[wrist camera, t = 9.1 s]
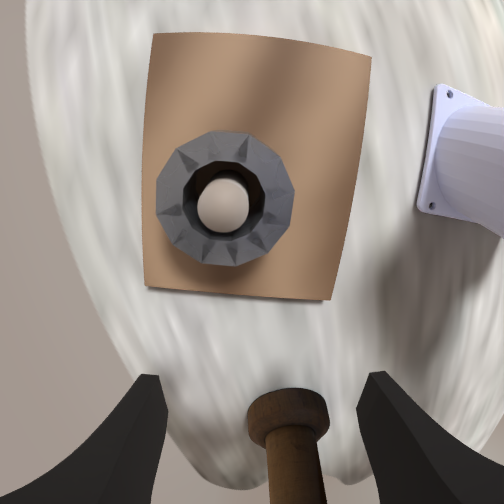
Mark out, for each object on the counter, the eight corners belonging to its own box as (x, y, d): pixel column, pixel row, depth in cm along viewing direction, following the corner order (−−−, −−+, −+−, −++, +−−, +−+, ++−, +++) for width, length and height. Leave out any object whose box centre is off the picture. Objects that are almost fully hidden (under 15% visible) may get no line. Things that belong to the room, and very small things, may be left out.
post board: (364, 59, 13) (403, 43, 9) (326, 292, 19) (346, 338, 15) (158, 38, 13) (129, 12, 9) (149, 277, 18) (125, 321, 14)
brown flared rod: (268, 437, 26) (278, 611, 9) (233, 402, 23) (230, 616, 7) (334, 415, 24) (374, 596, 8) (310, 375, 22) (353, 607, 6)
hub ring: (289, 136, 14) (301, 140, 11) (275, 239, 16) (282, 270, 13) (178, 127, 14) (158, 129, 11) (173, 230, 16) (156, 259, 13)
